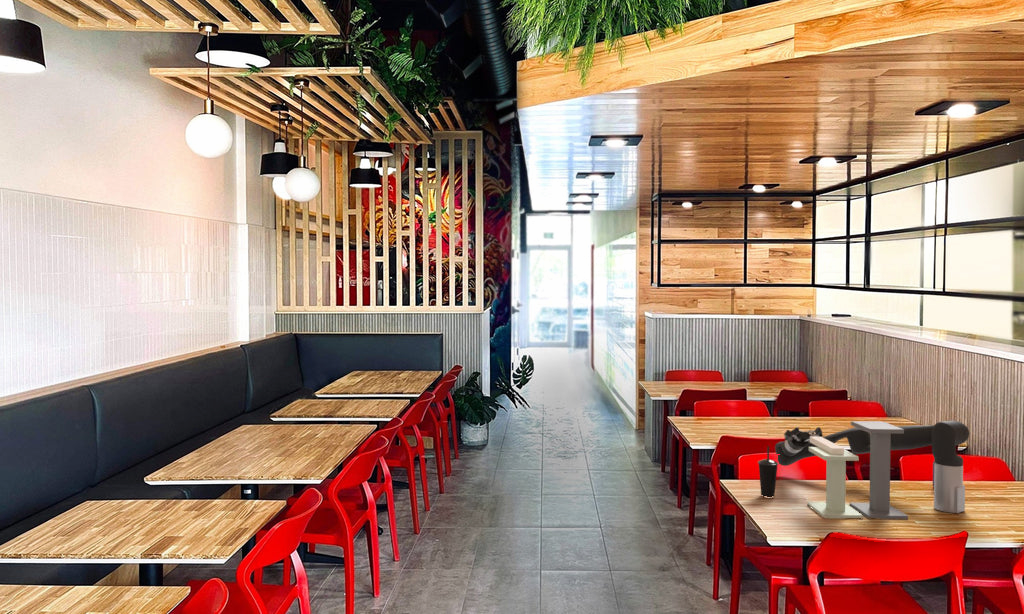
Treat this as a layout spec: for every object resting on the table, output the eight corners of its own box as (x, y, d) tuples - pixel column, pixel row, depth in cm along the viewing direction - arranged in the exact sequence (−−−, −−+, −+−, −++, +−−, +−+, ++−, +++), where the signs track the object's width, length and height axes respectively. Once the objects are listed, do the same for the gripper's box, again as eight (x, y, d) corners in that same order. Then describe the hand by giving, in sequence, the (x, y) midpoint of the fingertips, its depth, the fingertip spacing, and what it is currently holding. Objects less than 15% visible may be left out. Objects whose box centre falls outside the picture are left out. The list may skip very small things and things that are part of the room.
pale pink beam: (809, 442, 291) (809, 436, 291) (820, 442, 291) (820, 436, 290) (831, 454, 269) (832, 448, 269) (844, 454, 269) (844, 448, 269)
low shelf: (805, 503, 282) (806, 446, 282) (842, 504, 282) (843, 447, 281) (823, 518, 264) (824, 457, 264) (863, 518, 264) (863, 457, 263)
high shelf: (847, 504, 282) (848, 421, 281) (884, 504, 281) (885, 421, 281) (868, 518, 264) (869, 430, 263) (908, 519, 263) (909, 430, 263)
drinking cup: (778, 495, 294) (779, 445, 293) (776, 500, 287) (777, 449, 287) (758, 493, 297) (759, 443, 297) (756, 497, 290) (757, 447, 290)
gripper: (777, 433, 314) (789, 420, 300) (811, 433, 313) (824, 420, 299) (780, 450, 310) (792, 438, 296) (814, 450, 310) (828, 438, 296)
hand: (808, 429), depth 298 cm, fingers open, 8 cm apart
